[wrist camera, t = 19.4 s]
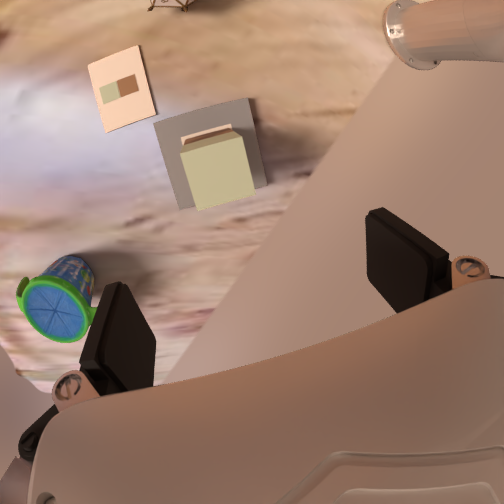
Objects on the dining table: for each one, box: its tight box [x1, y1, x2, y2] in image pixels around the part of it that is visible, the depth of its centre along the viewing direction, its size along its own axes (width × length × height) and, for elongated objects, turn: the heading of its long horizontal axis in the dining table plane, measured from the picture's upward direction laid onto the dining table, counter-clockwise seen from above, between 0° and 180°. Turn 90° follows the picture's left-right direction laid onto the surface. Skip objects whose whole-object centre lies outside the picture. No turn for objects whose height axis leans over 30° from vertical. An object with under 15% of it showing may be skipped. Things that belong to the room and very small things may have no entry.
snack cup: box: [16, 256, 97, 343], centre depth 37 cm, size 16×10×10 cm
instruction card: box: [88, 45, 156, 133], centre depth 31 cm, size 7×10×1 cm
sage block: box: [180, 131, 256, 211], centre depth 28 cm, size 6×6×6 cm
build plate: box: [153, 98, 267, 210], centre depth 37 cm, size 12×12×1 cm
